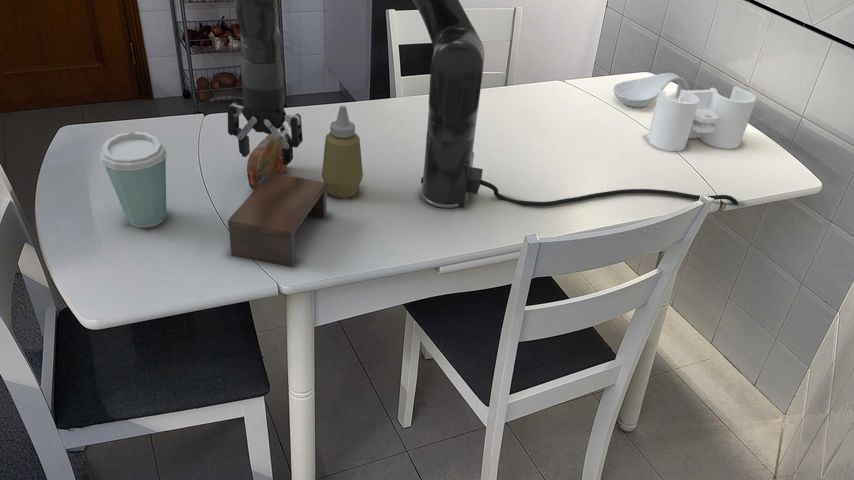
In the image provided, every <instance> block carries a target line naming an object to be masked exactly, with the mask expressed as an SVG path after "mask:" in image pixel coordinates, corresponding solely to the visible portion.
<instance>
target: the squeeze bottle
mask: <svg viewBox="0 0 854 480" xmlns="http://www.w3.org/2000/svg"><path fill="white" fill-rule="evenodd" d="M329 129H330V130H329V131H330V132H328V133H327V134H325V140H324V148H323V159H322V169H321V178H322V180H323V182H326V192H328V193H327V194H329V195H330V196H332V197H336V198H341V199H345V198H352V197H354V196H355V195H356V194H357V193H358V190H359V189H360V188H359V187H360V185H361V183H362V180H363V175H364V172H363V161H362V147H361V138H360V136H359V134H357V133H356V124H355V123H354V122H352V121H350V118H349V114H348V109H347V106H346V105H339V108H338V113H337V117H336V120H334V121H332V122H331V123H330V127H329Z"/></svg>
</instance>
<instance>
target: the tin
mask: <svg viewBox="0 0 854 480" xmlns="http://www.w3.org/2000/svg"><path fill="white" fill-rule="evenodd" d="M283 147H284V146H283V145H282V144H281V142H280V141H279V140H277V139H276V138H275V136H274V135H273V134H267V135H266V136H265V137H264V138H263V139H262V140H261V141H260V142H259V143H258V145H257V146H256V147H255V148H254V149H252V151H250V153H249V155H248V159H247V161H246V162H247V163H246V173H247V180H248V181H247V182H248V186H249V187H250V189H251V190H253V191H254V190H255V189H256V188H257V187H258V185H259V184H260V183H261V182H262V181H263V180H264V178H265V177H266V176H267V175H268V174H269V173H270V172H271V173H277V174H282V175H284V173H285V171H286V169H287V166H288V165H283Z"/></svg>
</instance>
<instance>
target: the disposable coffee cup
mask: <svg viewBox="0 0 854 480" xmlns="http://www.w3.org/2000/svg"><path fill="white" fill-rule="evenodd" d="M98 154H99V160H100V162H101V164H102V166H104V168H105V170H106V173H107V175H108V177H109V179H110V182H111V184H112V187H113V189H114V191H115V194H116V197H117V199H118V202H119V205H120V206H121V208H122V211H123V213H124V216H125V218H126V220H127V222H129V224H130V225H131V226H132V227H135V228H139V229H141V228H143V229H147V228H152V227H156V226H158V225H160V224H162V223H163V222H164V220H165V219H166V215H167V164H166V162H167V160H166V158H167V157H166V156H167V154H168V152H167V151H166V148H165V146H164V145H163V143H162V142H161V141H160V139H159V137H158V136H155V135H153V134H151V133H149V132H146V131H145V132H144V131H128V132H123V133H118V134H115V135H113V136H112V137H109V138H108V139H106V140H105V141H104V143H103V145H102V147H101V150H100V152H99V153H98Z"/></svg>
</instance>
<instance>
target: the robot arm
mask: <svg viewBox="0 0 854 480" xmlns="http://www.w3.org/2000/svg"><path fill="white" fill-rule="evenodd" d="M277 1H278V0H234V2H233V3H234V9H235V14H236V18H237V23H238V27H239V31H240V51H241V63H240V64H241V65H240V73H241V89H242V103H243V105H240V104H239V102H237V101H234V102H232V104H230V105H229V106H228V107H227V134H228V135H229V136H235V138H236V139H237V141H238V152H239V154H241V157H242V158H247V157H249V156H250V154H251V149H250V148H251V147H250V136H249V135H248V134H249V133H250V132H251V131H252V130H254V132H256V133H264V134H267V135H269V134H273V135H274V136H275V138H276V139H277V140H279V141H280V142H281V144H282V145H283V146H284V147H283V165H287V166H289V164H290V163H291V162H292V161H293V159H294V148H295V149H296V148H298V147H299V146H300V145H301V144H302V143H303V140H304V139H303V127H302V126H303V125H302V116H301V114H300V113H295V114H287V113H286V110H285V85H284V84H285V76H284V66H283V60H282V59H283V58H282V37H281V32H280V29H279V27H278V26H277ZM410 1H411V2H412V3H413V5H414V6H415V7H416V10H417V11H418V12H419V14H420V16H421V18H422V21H423V24H424V26H425V28H426V30H427V33H428V36H429V38H430V41H431V44H432V45H431V46H432V48H433V53H432V57H431V64H430V78H429V90H428V91H429V92H428V113H427V128H426V137H425V139H426V140H425V150H424V162H423V163H424V164H423V174H422V175H423V176H422V177H421V178H420V185H421V193H420V195H421V198H422V199H423V201H424V202H425V203H427V204H429V205H431V206H433V207H436V208H441V209H454V208H465V206H466V203H467V202H468V198H469V196H470V194H472V195H473V194H474V195H478V193H479V190H480V188H481V186H483V187H485V188H488V189H490V190H492V191H493V195H494V196H495V198H497V199H499V200H500V201H504V202H505V201H506V202H507V203H511V204H515V205H519V206H528V207H553V206H559V205H564V204H570V203H571V204H572V203H576V202H582V201H587V200H591V199H592V200H593V199H597V198H604V197H611V196H616V195H617V196H618V195H628V194H629V195H630V194H650V195H651V194H652V195H653V194H654V195H665V196H666V195H667V196H674V197H680V198H685V199H691V200H697V201H700V200H699V198H700V196H701V195H697V194H693V193H692V194H691V193H686V192H680V191H673V190H667V189H654V188H627V189H616V190H608V191H603V192H595V193H590V194H585V195H580V196H575V197H574V196H573V197H567V198H562V199H557V200H556V199H555V200H550V201H534V200H519V199H514V198H510V197H507V196H505V195H503V194H501V193H499V189H498V187H497V186H496V185H494V184H493V183H491V182H488V181H486V180H483V179H482V178H483V172H484V169H483V168H479V167H475V166H474V157H475V153H474V144H475V137H476V129H477V120H478V113H479V108H480V107H479V106H480V97H481V90H482V82H483V76H484V75H483V74H484V65H485V64H484V63H485V49H484V44H483V42H482V40H481V38H480V36H479V34H478V32H477V31H476V29H475V27H474V26H473V23H472V22H471V21H470V18H469V17H468V14H467V13H466V11H465V10H464V7H463V6H462V4H461V2H460V0H410ZM241 115H242V116H243V118H245V120H246V122H247V123H246V124H245V125H244V126H243V127H242V128H241V127H240V116H241ZM285 122H287V125H288V127H287V126H286V125H285ZM288 128H290V131H291V132H290V133H289V129H288ZM707 196H708V197H711V198H714V200H713V201H715V200H727V201H729V202H731V204H733V205H734V206H735V205H736V206H738V205H739V202H738V200H737V199H736V198H735V197H733V196H732V195H729V194H716V195H714V194H713V195H707Z"/></svg>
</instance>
